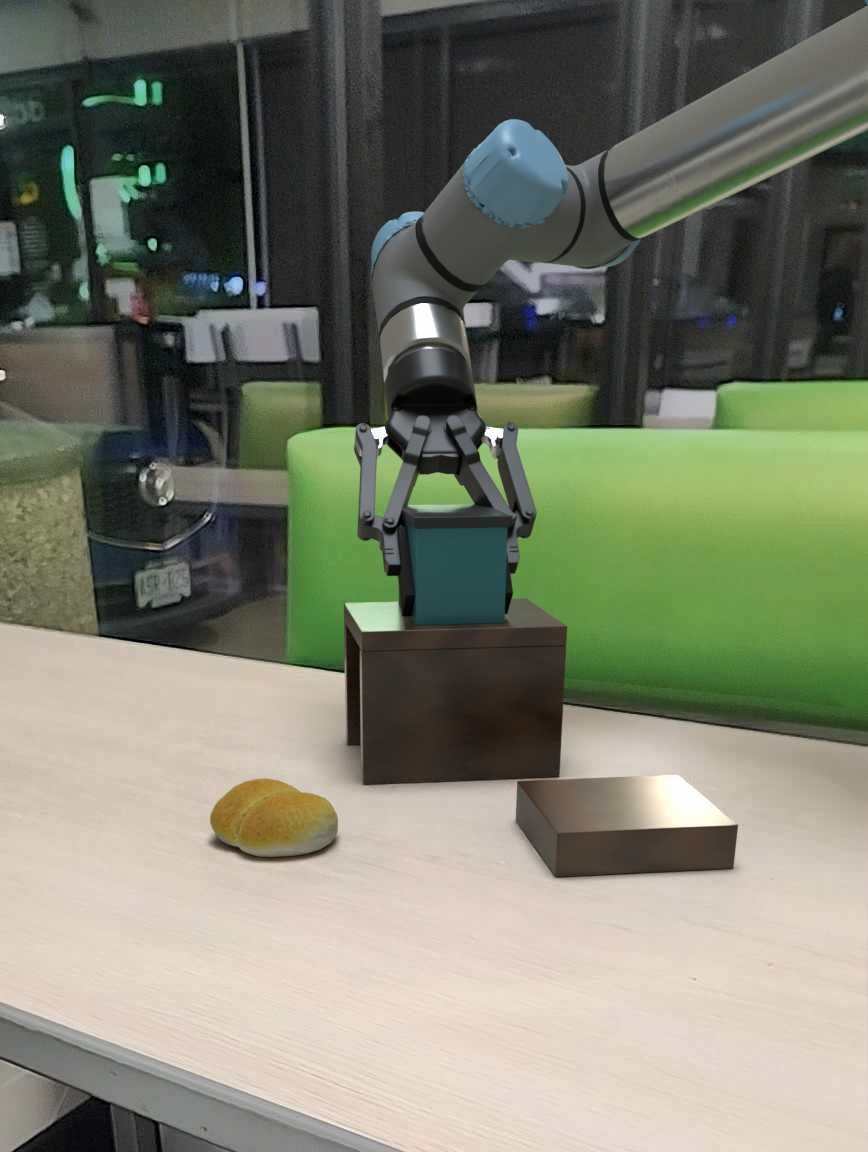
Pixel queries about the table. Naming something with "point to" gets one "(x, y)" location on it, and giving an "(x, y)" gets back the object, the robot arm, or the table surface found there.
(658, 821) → the bottom shelf
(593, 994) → the table surface
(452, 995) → the table surface
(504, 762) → the top shelf
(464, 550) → the box
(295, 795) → the bread roll
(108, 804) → the table surface
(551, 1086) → the table surface
